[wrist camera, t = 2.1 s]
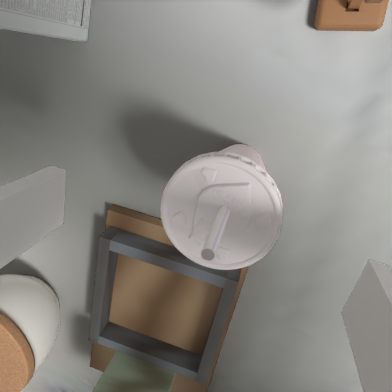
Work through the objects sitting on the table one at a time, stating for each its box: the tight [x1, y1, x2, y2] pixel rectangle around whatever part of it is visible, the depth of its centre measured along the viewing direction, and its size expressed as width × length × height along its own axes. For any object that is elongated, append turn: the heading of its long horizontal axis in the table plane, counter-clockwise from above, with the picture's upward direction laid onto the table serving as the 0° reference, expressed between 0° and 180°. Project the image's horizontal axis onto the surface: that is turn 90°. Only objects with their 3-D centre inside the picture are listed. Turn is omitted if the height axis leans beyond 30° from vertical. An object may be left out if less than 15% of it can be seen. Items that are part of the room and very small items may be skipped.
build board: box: [89, 205, 249, 392], centre depth 28 cm, size 13×20×9 cm, turn 168°
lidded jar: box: [0, 274, 60, 392], centre depth 31 cm, size 11×11×9 cm
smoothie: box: [160, 144, 283, 270], centre depth 19 cm, size 6×6×14 cm
